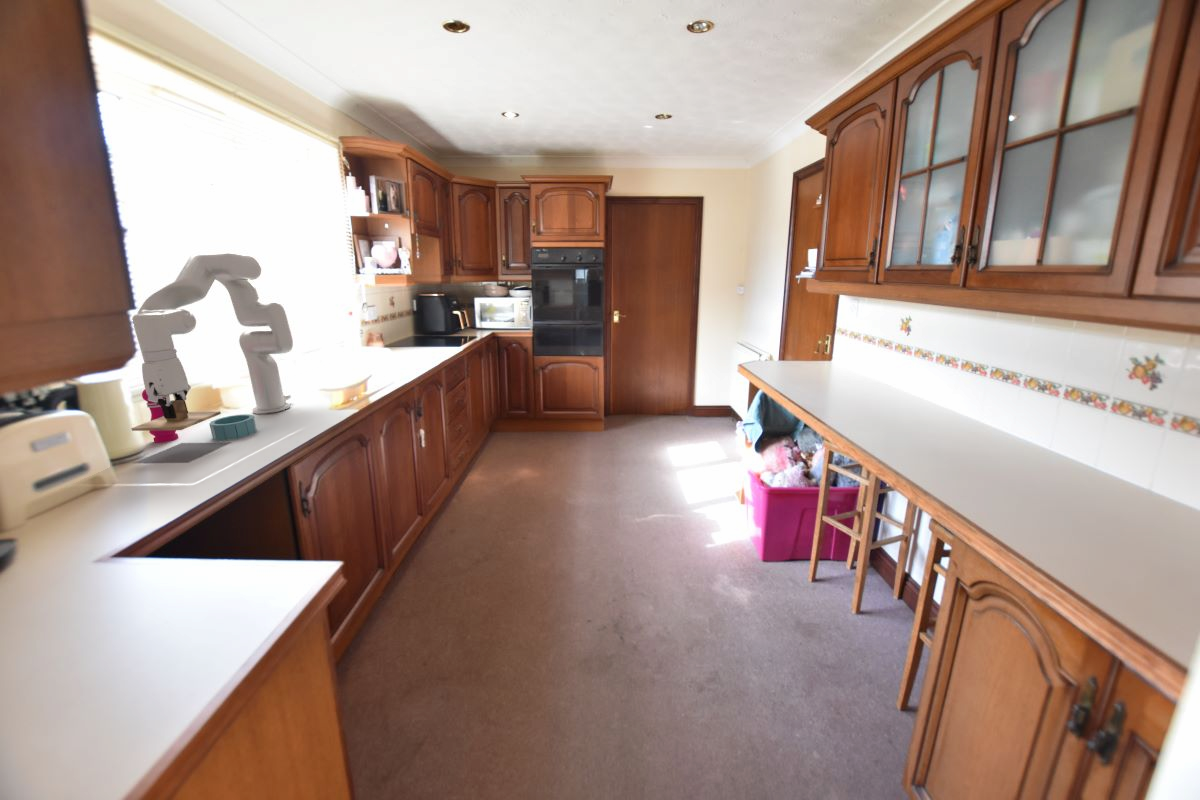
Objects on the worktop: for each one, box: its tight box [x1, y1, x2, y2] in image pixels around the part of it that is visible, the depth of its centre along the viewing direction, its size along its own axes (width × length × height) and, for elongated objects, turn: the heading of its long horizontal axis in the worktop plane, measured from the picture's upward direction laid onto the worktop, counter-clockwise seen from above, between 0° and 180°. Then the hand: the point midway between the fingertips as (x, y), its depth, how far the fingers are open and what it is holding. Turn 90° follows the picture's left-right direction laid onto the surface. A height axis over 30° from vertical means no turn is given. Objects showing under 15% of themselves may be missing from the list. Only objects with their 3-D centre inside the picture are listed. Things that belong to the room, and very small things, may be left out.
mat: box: [133, 441, 232, 464], centre depth 158 cm, size 17×17×1 cm
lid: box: [131, 399, 222, 432], centre depth 155 cm, size 15×15×6 cm
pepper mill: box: [141, 389, 179, 444], centre depth 168 cm, size 7×7×20 cm
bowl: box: [209, 413, 258, 441], centre depth 174 cm, size 12×12×6 cm
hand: (176, 415), depth 155 cm, fingers closed on lid, 3 cm apart
